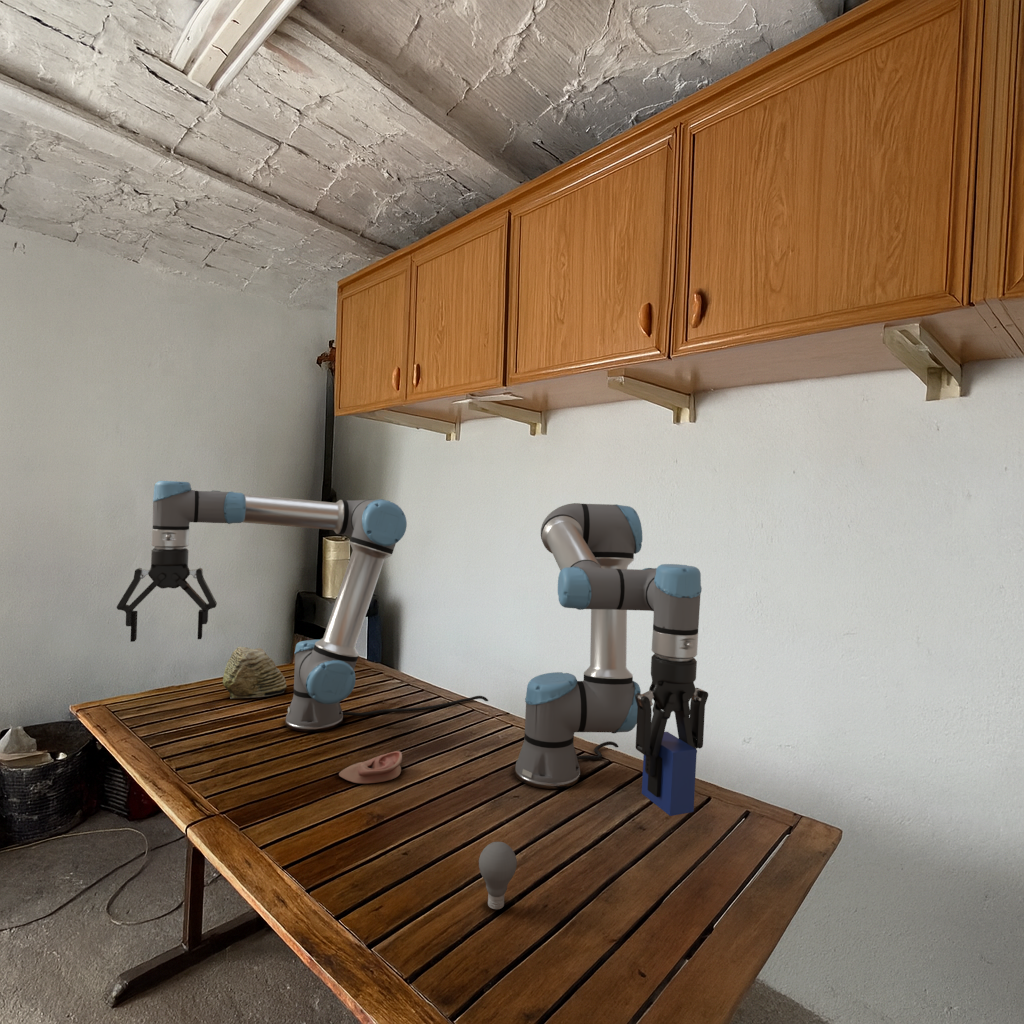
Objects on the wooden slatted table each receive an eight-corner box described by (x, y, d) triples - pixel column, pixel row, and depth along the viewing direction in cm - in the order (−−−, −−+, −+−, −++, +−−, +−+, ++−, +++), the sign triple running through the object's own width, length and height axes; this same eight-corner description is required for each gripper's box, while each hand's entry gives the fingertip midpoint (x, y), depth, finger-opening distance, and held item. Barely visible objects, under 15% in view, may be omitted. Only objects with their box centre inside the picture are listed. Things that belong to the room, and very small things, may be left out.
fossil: (218, 695, 195) (220, 647, 195) (278, 685, 208) (279, 640, 207) (228, 703, 189) (230, 653, 188) (289, 692, 201) (290, 645, 201)
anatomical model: (332, 762, 141) (355, 743, 152) (332, 780, 141) (355, 759, 153) (388, 770, 139) (407, 750, 150) (388, 788, 139) (407, 766, 150)
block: (641, 793, 111) (644, 733, 111) (664, 789, 113) (667, 731, 113) (669, 816, 104) (673, 752, 103) (693, 812, 105) (697, 749, 105)
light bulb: (476, 895, 103) (478, 834, 102) (513, 894, 103) (515, 834, 103) (477, 919, 97) (480, 854, 96) (516, 919, 97) (519, 854, 97)
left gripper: (103, 548, 138) (100, 645, 139) (228, 549, 147) (225, 640, 148) (111, 545, 145) (108, 637, 146) (230, 547, 154) (227, 633, 155)
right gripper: (642, 664, 101) (634, 808, 102) (731, 658, 108) (724, 794, 108) (617, 653, 108) (610, 788, 109) (702, 648, 115) (696, 775, 115)
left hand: (167, 639), depth 147 cm, fingers open, 13 cm apart
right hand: (667, 790), depth 108 cm, fingers closed on block, 5 cm apart
